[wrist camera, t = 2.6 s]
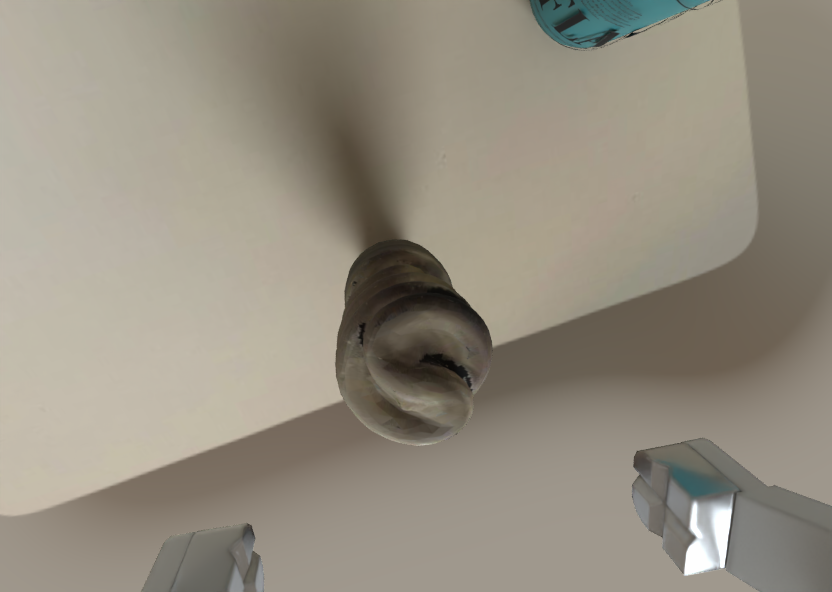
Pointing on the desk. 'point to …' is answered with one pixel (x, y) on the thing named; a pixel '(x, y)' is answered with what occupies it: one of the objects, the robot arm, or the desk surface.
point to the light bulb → (409, 346)
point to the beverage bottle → (602, 18)
